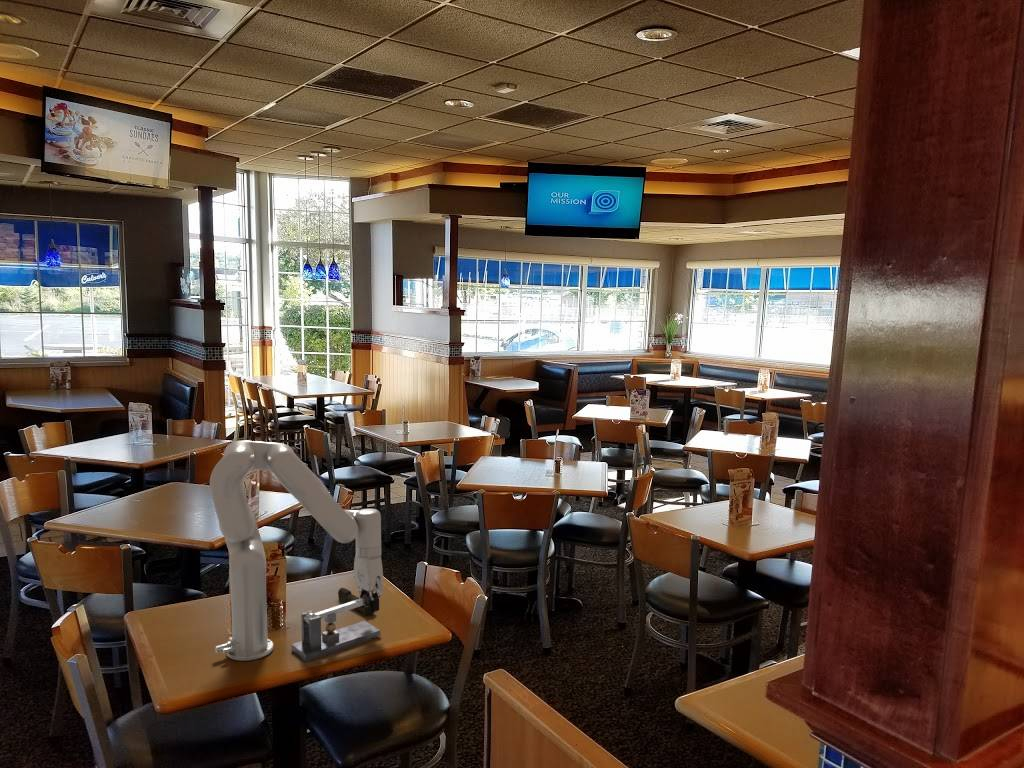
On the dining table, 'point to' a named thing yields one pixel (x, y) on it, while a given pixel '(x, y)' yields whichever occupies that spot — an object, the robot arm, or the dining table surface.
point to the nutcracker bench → (325, 648)
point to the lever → (339, 609)
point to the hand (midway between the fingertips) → (369, 608)
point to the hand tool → (347, 597)
